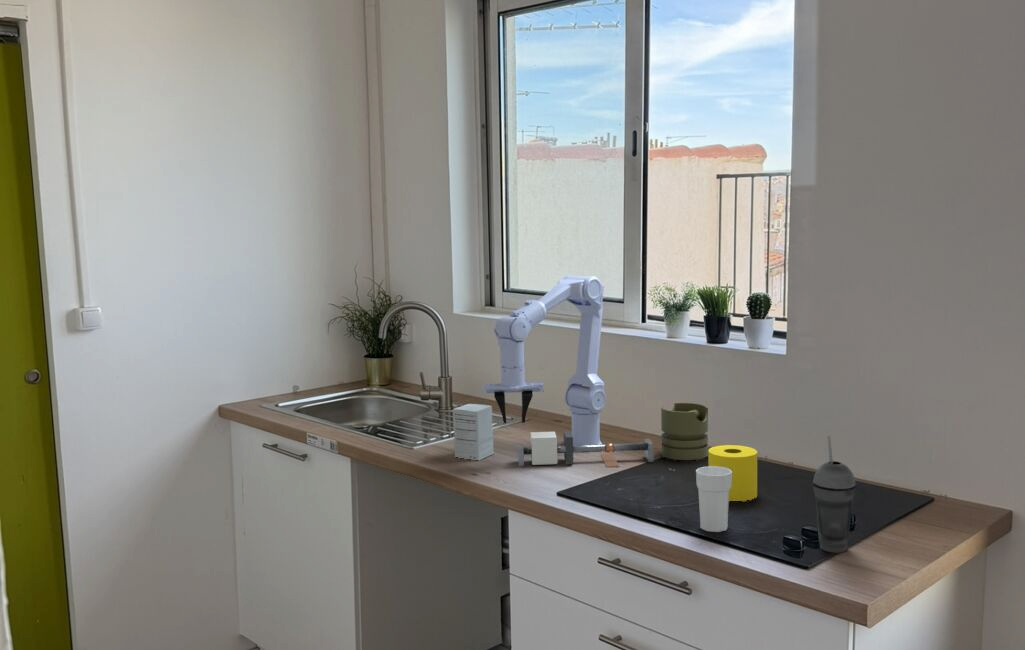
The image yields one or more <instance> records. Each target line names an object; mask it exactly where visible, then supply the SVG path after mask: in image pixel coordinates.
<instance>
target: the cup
mask: <svg viewBox="0 0 1025 650" xmlns="http://www.w3.org/2000/svg"><path fill="white" fill-rule="evenodd" d="M695 475H696V476H695V477H696V487H697V490H698V504H699V505H698V508H699V521H700V529H701V530H703V531H706V532H713V533H715V532H716V533H720V532H723V531H728V524H729V522H728V520H729V506H730V505H729V504H730V501H729V489H730V488H731V484H732V471H731V470H730V469H728V468H724V467H717V466H709V465H708V466H702V467H698V468H697V469H695Z"/></svg>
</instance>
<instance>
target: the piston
mask: <svg viewBox="0 0 1025 650" xmlns="http://www.w3.org/2000/svg"><path fill="white" fill-rule="evenodd" d="M673 405H674V406H673V407H672V408H673V409H672V410H670V409H666V408H664V406H661V407H660V413H661V414H660V415H661V417H660V418H661V419H660V420H661V421H660V422H661V426H660V427H661V431H662V432H663V433H661V435H660V436H661V439H660V440H661V457H663V458H664V457H667V458H672V459H682V460H693V459H702V458H705V457H707V456H708V450H709V435H708V434H707V432H708V431H709V407H708V405H705V404H702V403H696V402H675V403H674V404H673ZM667 458H666V459H667ZM707 458H708V457H707ZM705 459H706V458H705ZM702 460H703V459H702Z"/></svg>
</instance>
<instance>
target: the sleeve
mask: <svg viewBox="0 0 1025 650" xmlns="http://www.w3.org/2000/svg"><path fill="white" fill-rule="evenodd" d="M529 433H530V447H532V454H530V460H531V464H532V465H534V466H536V465H537V466H539V465H540V466H543V465H558V454H557V446H558V439H557V435H556V434H557V433H556V431H536V432H535V431H534V432H533V431H532V432H529Z"/></svg>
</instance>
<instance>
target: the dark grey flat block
mask: <svg viewBox="0 0 1025 650" xmlns="http://www.w3.org/2000/svg"><path fill="white" fill-rule="evenodd" d="M563 446H566V453H563V455H564V456H563V458H564V460H565V463H566V465H574V453H573V436H572V431H571V430H563Z"/></svg>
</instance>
